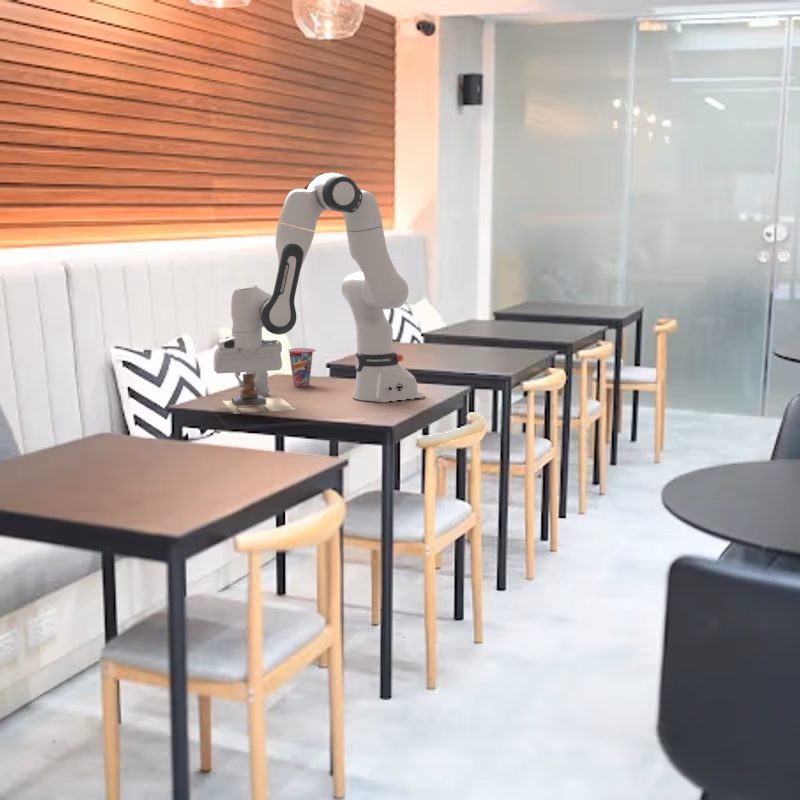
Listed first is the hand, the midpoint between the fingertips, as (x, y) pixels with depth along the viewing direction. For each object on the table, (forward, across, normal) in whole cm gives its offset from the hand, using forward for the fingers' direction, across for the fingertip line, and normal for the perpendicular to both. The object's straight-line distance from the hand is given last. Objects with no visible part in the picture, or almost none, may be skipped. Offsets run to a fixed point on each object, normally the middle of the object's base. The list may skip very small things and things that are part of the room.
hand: (248, 386), depth 333 cm
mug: (+6, -5, -16) cm, 18 cm away
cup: (+6, -24, -31) cm, 40 cm away
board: (+6, -2, +4) cm, 8 cm away
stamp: (+3, 0, 0) cm, 3 cm away
